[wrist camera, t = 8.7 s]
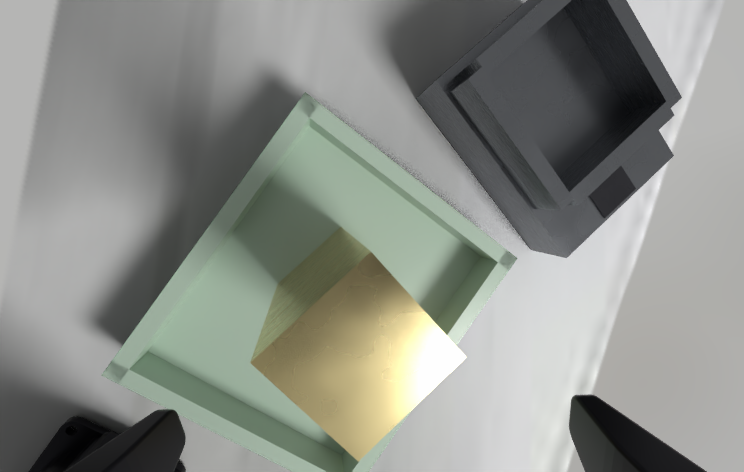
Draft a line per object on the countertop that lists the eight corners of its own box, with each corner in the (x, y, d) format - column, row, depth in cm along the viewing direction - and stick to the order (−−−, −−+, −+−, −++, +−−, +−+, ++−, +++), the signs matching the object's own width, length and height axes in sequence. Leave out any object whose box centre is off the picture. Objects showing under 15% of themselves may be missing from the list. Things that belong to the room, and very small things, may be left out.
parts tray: (343, 464, 21) (348, 500, 18) (129, 351, 18) (101, 375, 15) (492, 251, 21) (517, 258, 19) (305, 106, 18) (305, 92, 16)
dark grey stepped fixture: (531, 249, 21) (596, 265, 17) (416, 98, 19) (453, 64, 14) (625, 161, 22) (715, 150, 17) (524, 4, 20) (595, -61, 15)
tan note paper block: (334, 341, 19) (358, 461, 10) (277, 283, 18) (250, 362, 9) (394, 285, 19) (466, 357, 11) (340, 226, 19) (370, 251, 10)
